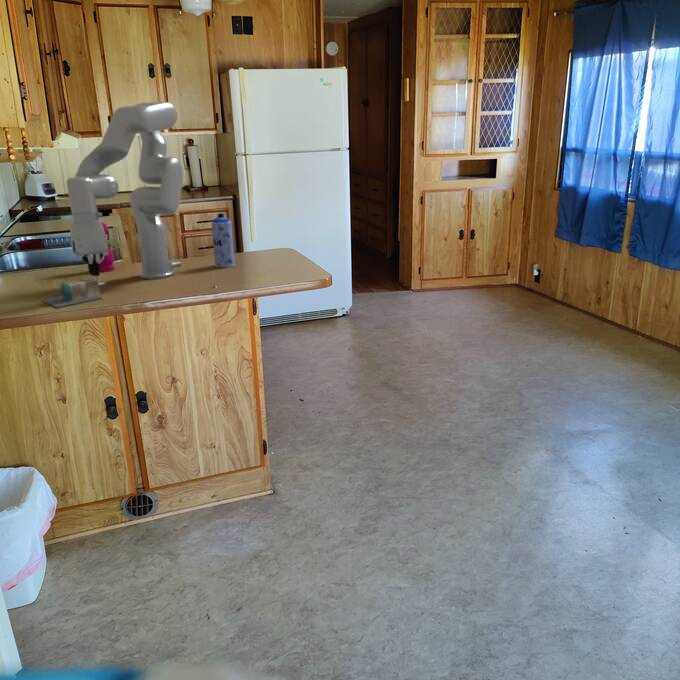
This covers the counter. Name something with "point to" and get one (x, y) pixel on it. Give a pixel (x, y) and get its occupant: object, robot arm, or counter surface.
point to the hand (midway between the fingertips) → (95, 275)
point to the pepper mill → (107, 256)
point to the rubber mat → (61, 302)
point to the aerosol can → (223, 241)
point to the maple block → (80, 289)
